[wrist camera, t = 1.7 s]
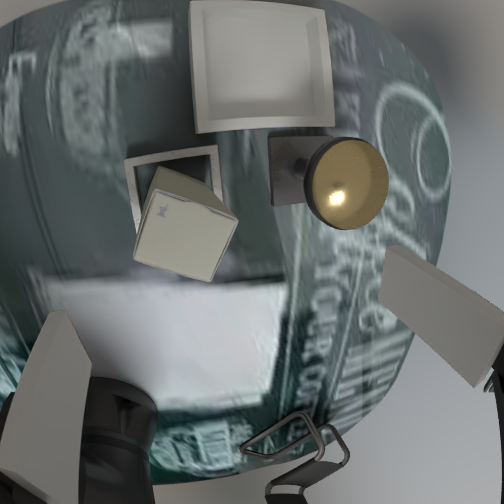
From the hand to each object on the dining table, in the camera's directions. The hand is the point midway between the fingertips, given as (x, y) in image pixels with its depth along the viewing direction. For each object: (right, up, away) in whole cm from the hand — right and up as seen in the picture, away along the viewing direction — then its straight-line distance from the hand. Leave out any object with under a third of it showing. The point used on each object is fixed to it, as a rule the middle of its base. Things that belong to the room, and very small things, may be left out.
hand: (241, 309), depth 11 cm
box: (-7, +8, +16) cm, 19 cm away
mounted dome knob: (+6, +11, +18) cm, 22 cm away
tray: (+1, +20, +13) cm, 24 cm away
